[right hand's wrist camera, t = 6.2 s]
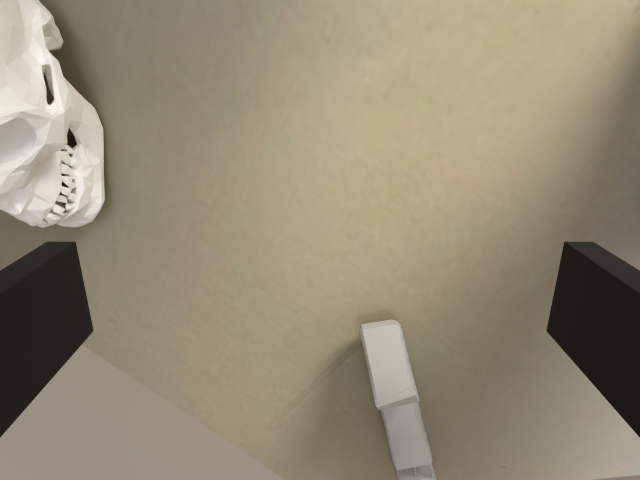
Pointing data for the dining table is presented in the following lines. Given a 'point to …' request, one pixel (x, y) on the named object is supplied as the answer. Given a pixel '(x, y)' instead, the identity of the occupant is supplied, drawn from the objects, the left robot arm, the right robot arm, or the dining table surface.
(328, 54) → the dining table surface
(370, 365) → the white jointed bar
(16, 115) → the skull
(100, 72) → the dining table surface
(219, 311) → the dining table surface
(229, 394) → the dining table surface
